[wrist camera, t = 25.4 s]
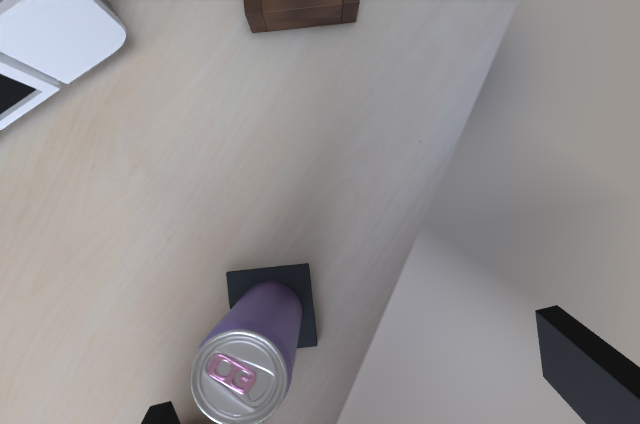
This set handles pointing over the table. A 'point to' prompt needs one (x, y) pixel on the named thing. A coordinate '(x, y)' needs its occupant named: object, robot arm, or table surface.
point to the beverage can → (249, 356)
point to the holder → (298, 13)
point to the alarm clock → (50, 48)
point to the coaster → (288, 275)
